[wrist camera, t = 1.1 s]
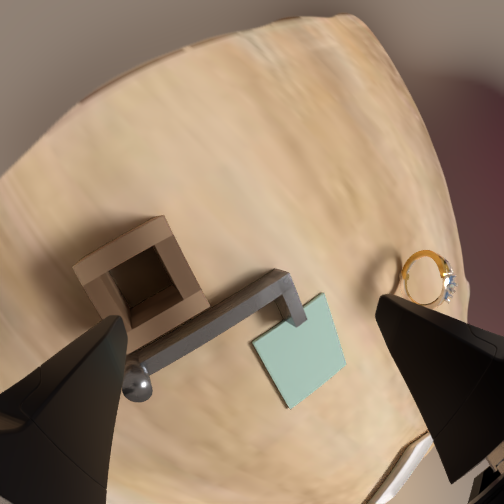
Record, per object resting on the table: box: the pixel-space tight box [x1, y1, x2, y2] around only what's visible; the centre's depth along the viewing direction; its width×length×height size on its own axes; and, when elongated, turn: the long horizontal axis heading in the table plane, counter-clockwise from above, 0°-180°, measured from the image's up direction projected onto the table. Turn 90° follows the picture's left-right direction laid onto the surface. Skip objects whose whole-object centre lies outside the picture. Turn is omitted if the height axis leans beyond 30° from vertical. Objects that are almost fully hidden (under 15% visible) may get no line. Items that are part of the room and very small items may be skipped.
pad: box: [252, 293, 346, 409], centre depth 25 cm, size 8×10×1 cm
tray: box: [367, 432, 433, 504], centre depth 47 cm, size 17×32×4 cm, turn 165°
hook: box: [122, 269, 308, 402], centre depth 19 cm, size 15×5×4 cm, turn 115°
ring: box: [399, 250, 458, 310], centre depth 27 cm, size 7×3×8 cm, turn 165°
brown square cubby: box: [72, 215, 210, 355], centre depth 16 cm, size 6×6×4 cm
